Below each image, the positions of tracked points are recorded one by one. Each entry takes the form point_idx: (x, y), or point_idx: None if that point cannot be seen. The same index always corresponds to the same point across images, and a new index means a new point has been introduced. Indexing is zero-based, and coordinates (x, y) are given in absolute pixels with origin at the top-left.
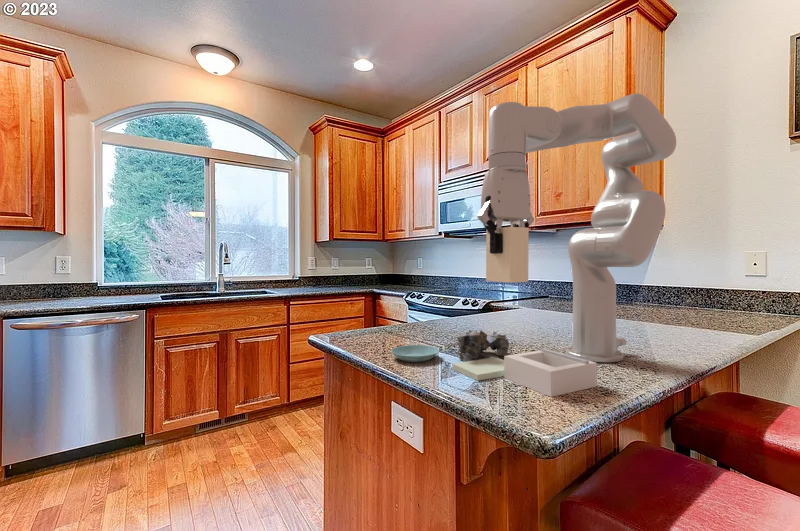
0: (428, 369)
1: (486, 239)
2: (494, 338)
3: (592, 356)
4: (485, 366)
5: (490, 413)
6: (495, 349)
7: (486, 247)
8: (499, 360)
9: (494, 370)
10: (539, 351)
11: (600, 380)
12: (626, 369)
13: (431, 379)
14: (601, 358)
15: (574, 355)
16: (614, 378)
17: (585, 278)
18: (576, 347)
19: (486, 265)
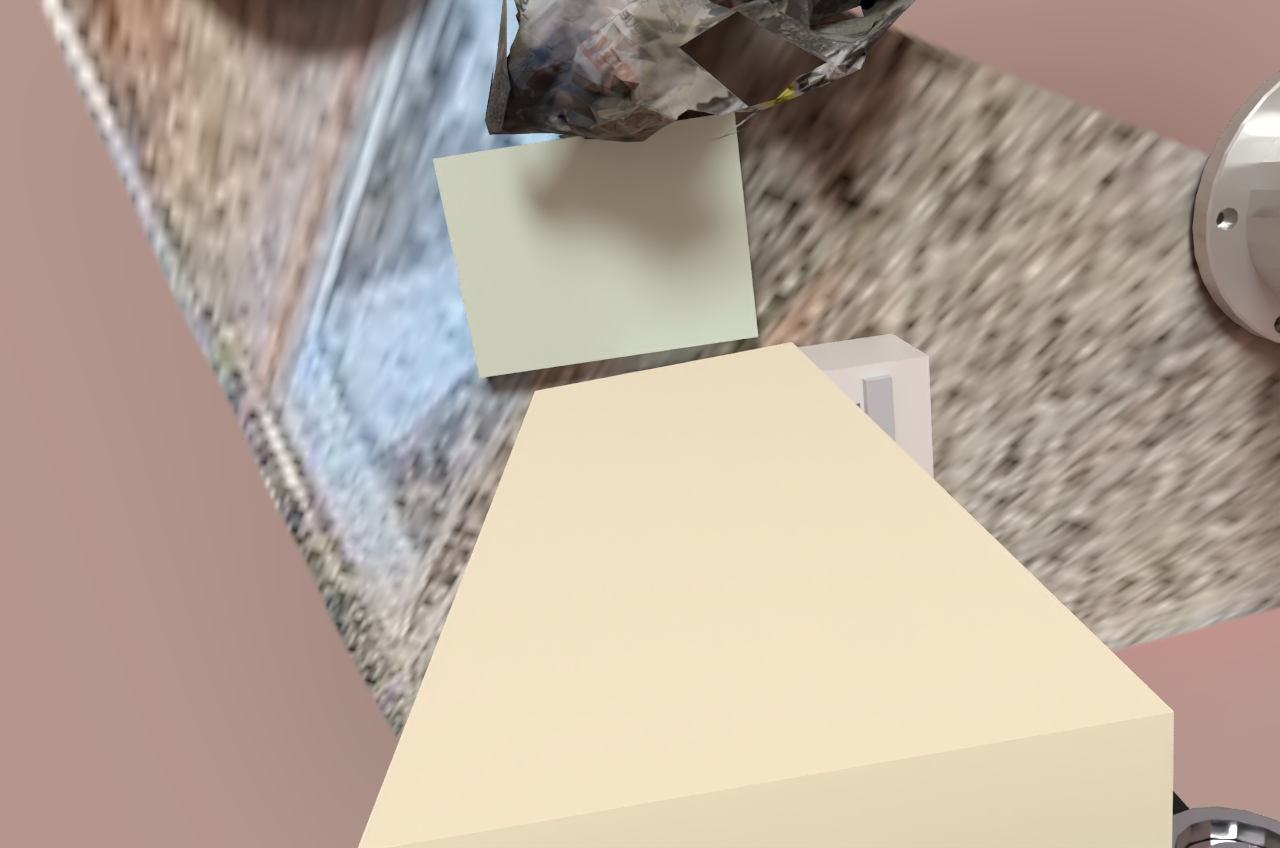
0: (311, 117)
1: (434, 657)
2: None
3: (1244, 290)
4: (581, 269)
5: (384, 660)
6: None
7: (468, 568)
8: (716, 187)
9: (590, 344)
10: (854, 382)
11: (984, 525)
12: (1236, 443)
13: (283, 283)
14: (1254, 330)
15: (1203, 208)
16: (1060, 523)
17: None
18: (1277, 180)
19: (516, 448)
